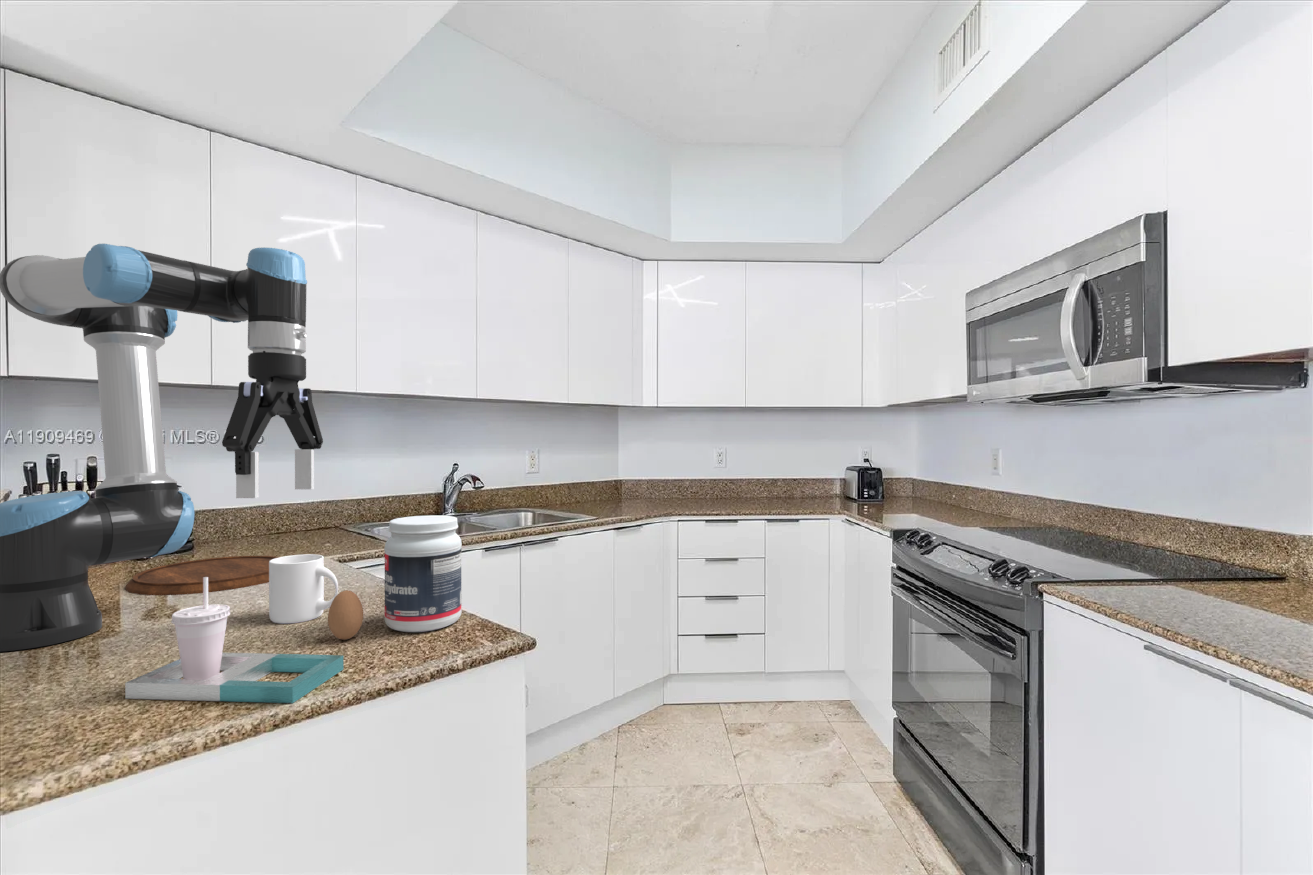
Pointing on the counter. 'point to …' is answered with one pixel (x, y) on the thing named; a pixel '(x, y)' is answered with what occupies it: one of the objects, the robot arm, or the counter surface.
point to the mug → (298, 588)
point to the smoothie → (201, 637)
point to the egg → (345, 615)
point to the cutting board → (190, 576)
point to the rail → (239, 679)
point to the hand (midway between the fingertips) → (278, 493)
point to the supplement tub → (422, 573)
